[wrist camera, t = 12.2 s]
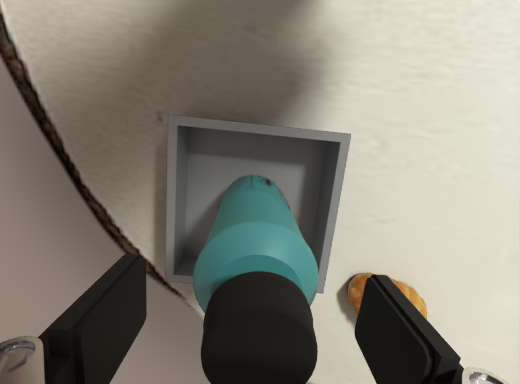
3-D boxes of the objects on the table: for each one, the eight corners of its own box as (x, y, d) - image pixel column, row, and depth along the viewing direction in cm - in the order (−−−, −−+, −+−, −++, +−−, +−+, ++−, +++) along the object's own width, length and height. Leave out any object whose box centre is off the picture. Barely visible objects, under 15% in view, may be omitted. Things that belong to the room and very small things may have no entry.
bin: (184, 118, 26) (168, 114, 21) (333, 134, 27) (351, 133, 22) (179, 257, 30) (164, 281, 25) (312, 268, 30) (323, 293, 26)
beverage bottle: (215, 217, 28) (130, 422, 8) (234, 160, 26) (186, 245, 7) (270, 235, 28) (312, 462, 9) (292, 181, 27) (398, 311, 7)
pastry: (331, 299, 32) (342, 320, 28) (363, 257, 31) (378, 273, 27) (389, 330, 33) (407, 355, 29) (422, 291, 32) (444, 312, 28)
